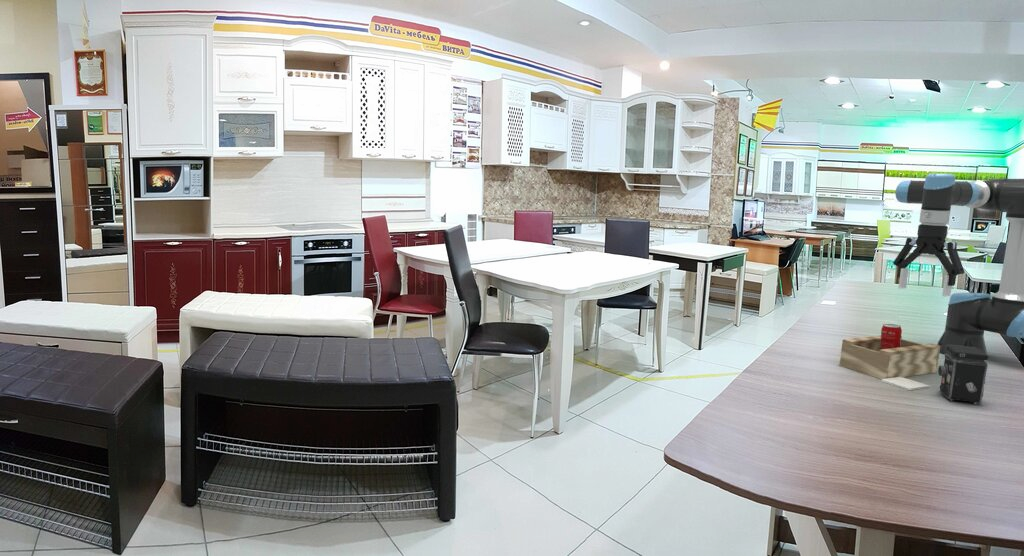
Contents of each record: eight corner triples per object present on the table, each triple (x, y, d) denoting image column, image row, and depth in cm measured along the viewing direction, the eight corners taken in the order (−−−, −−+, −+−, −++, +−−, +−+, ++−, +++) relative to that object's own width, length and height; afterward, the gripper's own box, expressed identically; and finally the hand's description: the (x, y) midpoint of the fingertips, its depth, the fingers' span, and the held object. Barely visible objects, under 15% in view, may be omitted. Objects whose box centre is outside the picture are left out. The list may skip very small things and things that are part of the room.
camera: (971, 394, 180) (979, 345, 177) (985, 406, 170) (994, 355, 167) (930, 389, 183) (938, 341, 181) (942, 400, 173) (950, 350, 171)
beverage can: (901, 372, 200) (908, 328, 197) (880, 370, 201) (886, 326, 199) (894, 366, 205) (900, 324, 203) (873, 365, 207) (879, 322, 204)
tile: (899, 378, 193) (900, 376, 193) (928, 387, 185) (928, 385, 185) (880, 381, 189) (881, 379, 189) (909, 390, 181) (909, 388, 181)
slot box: (890, 358, 216) (893, 334, 214) (936, 372, 201) (940, 345, 200) (839, 365, 205) (842, 339, 204) (884, 379, 191) (888, 352, 189)
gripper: (886, 221, 196) (877, 285, 199) (969, 227, 173) (958, 300, 177) (901, 221, 199) (892, 284, 202) (985, 227, 176) (974, 299, 180)
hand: (923, 292), depth 189 cm, fingers open, 13 cm apart
